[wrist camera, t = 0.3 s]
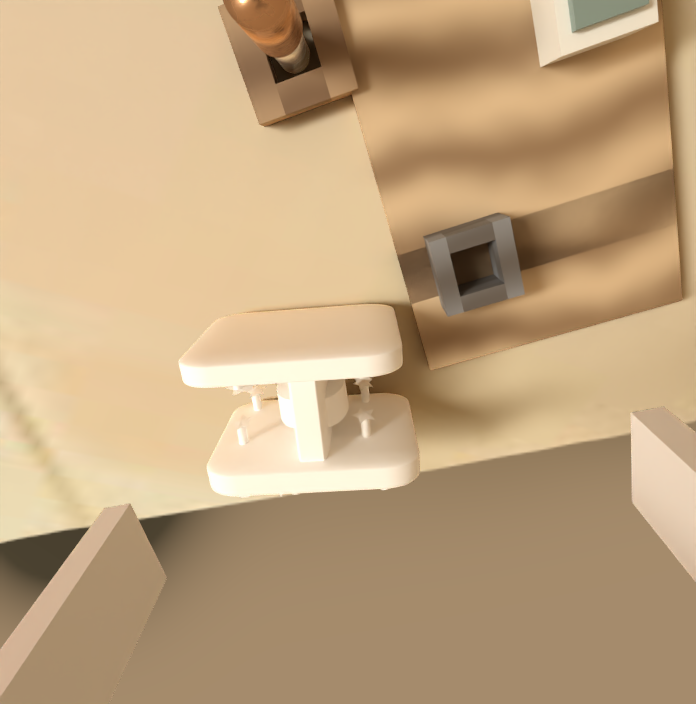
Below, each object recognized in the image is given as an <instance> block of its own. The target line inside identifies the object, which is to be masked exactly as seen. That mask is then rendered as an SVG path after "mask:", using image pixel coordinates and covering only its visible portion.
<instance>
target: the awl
mask: <svg viewBox="0 0 696 704" xmlns="http://www.w3.org/2000/svg"><path fill="white" fill-rule="evenodd" d="M223 2H224V5H225V7H226V9H227V11H228V13H229V14H230V16H231V17H232V18H233V19H234V20H235V21H236V22H237V24H238V25H239V26H240V27H241V28H242V29H243V30H244V31H245V33H246V34H247V35H248V36H249V37H250V38H251V39H252V41H253V42H254V43H255V44H256V45H257V46H258V47H259V48H260V50H261V51H263V52H264V53H265V54H267V55H269V56H271V57H274V58H275V59H276V60H277V61H278V63H279V64H280V65H281V66H282V67H283V69H284V70H286V71H287V72H289V73H299V72H301V71H303V70H304V69H305V68H306V67H307V65H308V63H309V60H310V51H309V48H308V45H307V43H306V41H305V39H304V36H303V34H302V33H303V25H302V20H301V16H300V14H299V11H298V9H297V6H296V4H295V2H294V0H223Z"/></svg>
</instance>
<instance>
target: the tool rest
mask: <svg viewBox="0 0 696 704" xmlns="http://www.w3.org/2000/svg"><path fill="white" fill-rule="evenodd" d="M294 2H295V4H296V6H297V9H298V11H299V14H300V16H301V20H302V22H303V21H306V20H308V23H309V27H310V30H311V33H312V37H313V40H314V43H315V47H316V50H317V53H318V57H319V60H320V63H321V67H319V68H317V69H314V70H311V71H309V72H306V73H303V74H301V75H298V76H296V77H293V78H290V79H288V80H285V81H283V82H280V83H278V80H277V77H276V74H275V71H274V68H273V65H272V62H271V59H270V56H269V55H267V54H265V53H264V52H263V51H261V50H260V48H259V47H258V46H257V45H256V44H255V43H254V42H253V41H252V39H251V38H250V37H249V36H248V35H247V34H246V33H245V31H244V30H243V29H242V28H241V27H240V26H239V25H238V24H237V22H236V21H235V20H234V19H233V18H232V17H231V16H230V14H229V13H228V11H227V9H226V7H225V5H224V4H223V5H221V6H218V9H219V12H220V14H221V17H222V20H223V23H224V26H225V28H226V31H227V34H228V37H229V40H230V43H231V45H232V48H233V51H234V54H235V57H236V59H237V62H238V65H239V68H240V71H241V74H242V76H243V79H244V82H245V85H246V88H247V91H248V93H249V96H250V99H251V102H252V105H253V107H254V110H255V113H256V116H257V119H258V122H259V124H260V125H262V126H268V125H271V124H273V123H276V122H279V121H281V120H284V119H287V118H290V117H292V116H295V115H298V114H300V113H303V112H306V111H309V110H311V109H314V108H317V107H319V106H322V105H325V104H327V103H330V102H333V101H336V100H338V99H341V98H344V97H346V96H349V95H351V92H353V91H356V90H358V85H357V82H356V78H355V75H354V71H353V67H352V64H351V60H350V57H349V53H348V49H347V46H346V42H345V39H344V35H343V31H342V28H341V24H340V21H339V17H338V14H337V10H336V6H335V3H334V0H294Z"/></svg>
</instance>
